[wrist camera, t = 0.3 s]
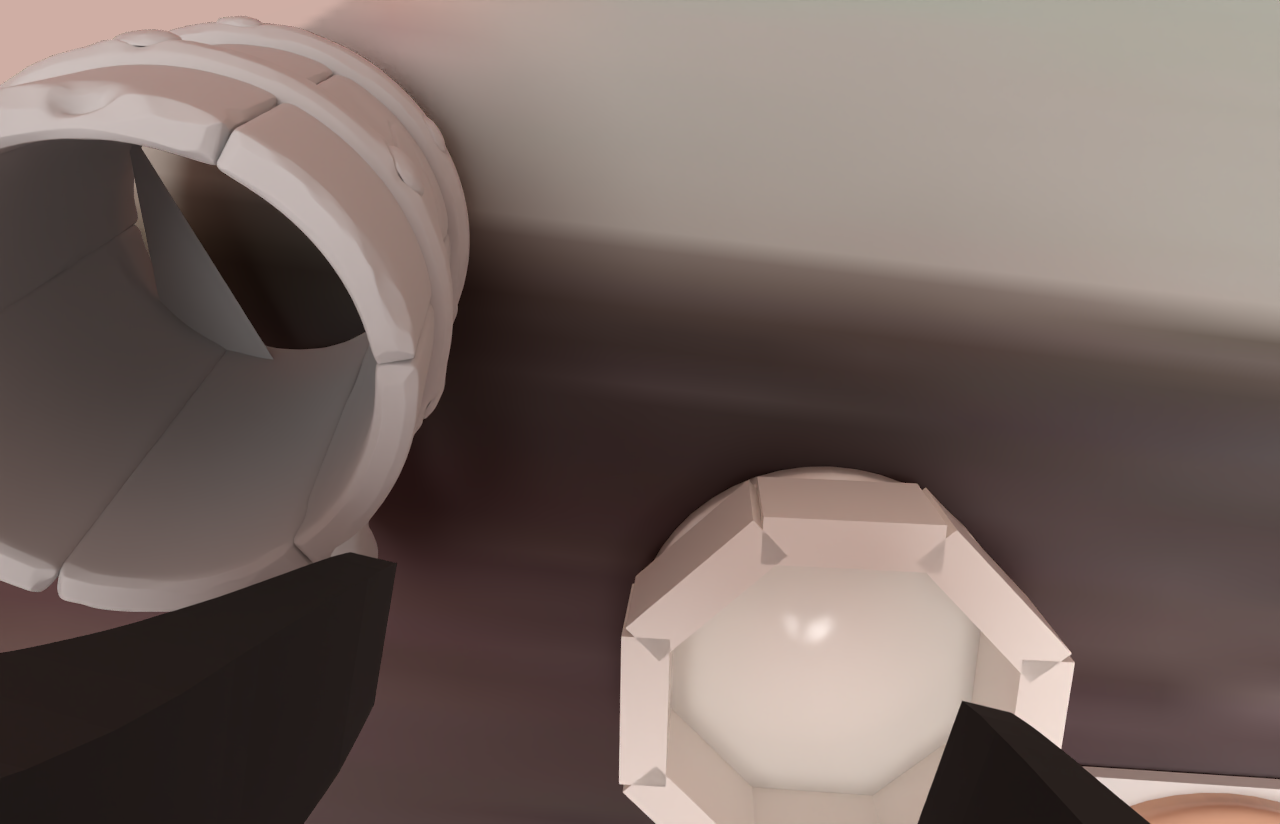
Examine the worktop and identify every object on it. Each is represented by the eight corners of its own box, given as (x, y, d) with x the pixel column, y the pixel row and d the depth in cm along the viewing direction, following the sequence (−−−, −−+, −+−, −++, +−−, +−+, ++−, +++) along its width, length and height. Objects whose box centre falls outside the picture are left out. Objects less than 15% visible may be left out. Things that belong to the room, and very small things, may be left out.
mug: (438, 5, 17) (400, -39, 7) (514, 507, 22) (561, 950, 12) (31, 34, 16) (-795, 37, 6) (204, 555, 21) (-60, 1091, 11)
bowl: (983, 811, 22) (1033, 923, 19) (631, 786, 23) (617, 890, 19) (1029, 474, 20) (1095, 532, 16) (637, 458, 20) (623, 510, 17)
